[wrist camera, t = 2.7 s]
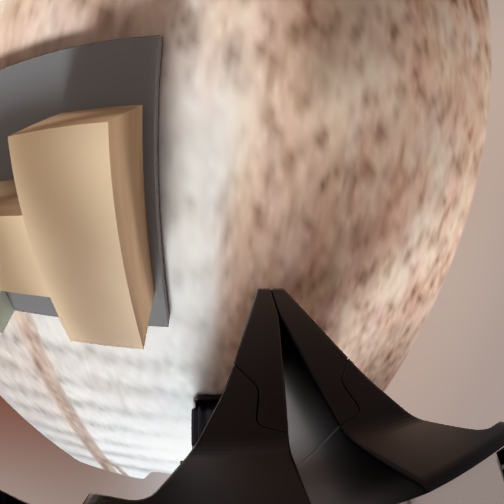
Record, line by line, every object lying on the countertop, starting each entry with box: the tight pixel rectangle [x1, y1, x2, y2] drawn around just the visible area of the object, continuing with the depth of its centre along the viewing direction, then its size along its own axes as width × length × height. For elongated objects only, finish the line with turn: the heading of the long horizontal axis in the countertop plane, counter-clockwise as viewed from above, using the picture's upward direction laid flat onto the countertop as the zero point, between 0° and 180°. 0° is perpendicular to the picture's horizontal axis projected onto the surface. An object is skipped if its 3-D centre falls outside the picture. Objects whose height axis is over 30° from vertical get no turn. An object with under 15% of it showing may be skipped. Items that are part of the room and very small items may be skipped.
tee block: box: [0, 105, 155, 349], centre depth 11 cm, size 9×10×4 cm
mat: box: [0, 35, 170, 327], centre depth 12 cm, size 17×16×1 cm
